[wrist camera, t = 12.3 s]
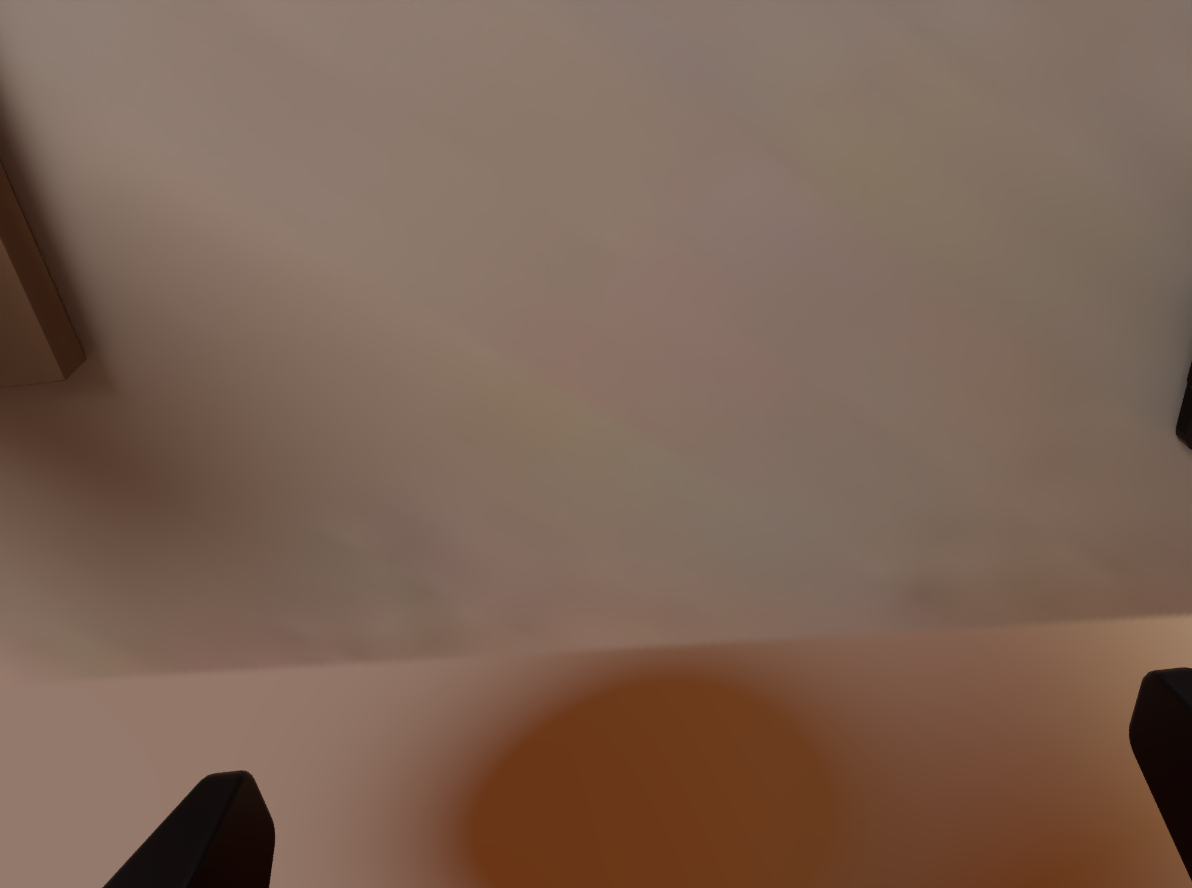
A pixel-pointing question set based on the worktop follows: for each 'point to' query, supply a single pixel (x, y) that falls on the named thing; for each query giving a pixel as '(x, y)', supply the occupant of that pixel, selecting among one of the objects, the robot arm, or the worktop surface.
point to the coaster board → (29, 307)
